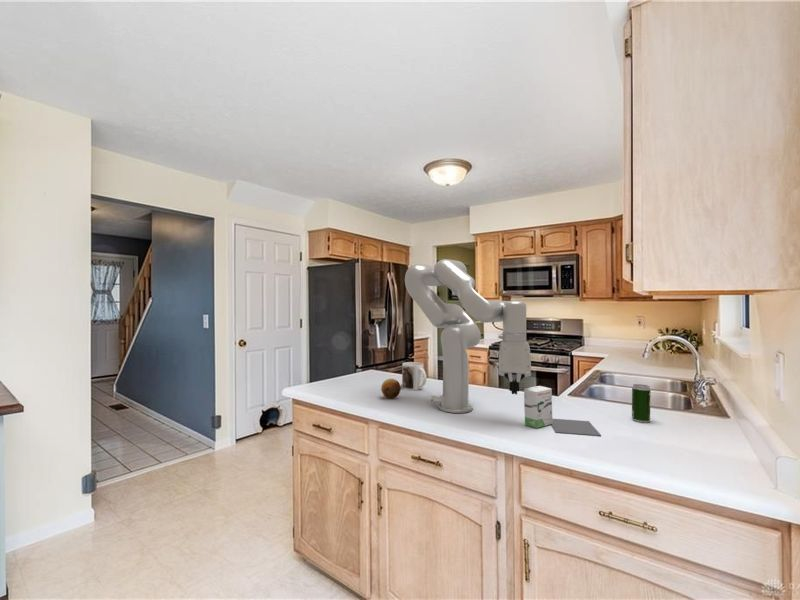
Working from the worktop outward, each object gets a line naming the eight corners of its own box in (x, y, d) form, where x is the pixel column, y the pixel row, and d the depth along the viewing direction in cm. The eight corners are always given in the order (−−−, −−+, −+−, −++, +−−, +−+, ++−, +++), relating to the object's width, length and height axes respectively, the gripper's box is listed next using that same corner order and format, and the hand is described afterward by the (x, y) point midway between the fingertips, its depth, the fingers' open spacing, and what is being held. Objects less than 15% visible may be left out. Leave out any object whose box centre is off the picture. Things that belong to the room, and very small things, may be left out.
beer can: (635, 422, 130) (635, 387, 130) (629, 417, 136) (629, 383, 136) (653, 423, 129) (653, 387, 129) (646, 418, 134) (646, 384, 134)
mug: (423, 385, 184) (423, 362, 184) (426, 391, 172) (427, 366, 172) (401, 385, 183) (401, 362, 183) (403, 391, 171) (403, 366, 171)
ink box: (536, 428, 123) (535, 391, 123) (523, 424, 127) (522, 388, 127) (553, 423, 127) (552, 387, 127) (540, 419, 131) (539, 385, 132)
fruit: (404, 398, 159) (404, 378, 159) (389, 401, 153) (390, 381, 153) (391, 394, 165) (391, 376, 165) (377, 398, 159) (377, 378, 159)
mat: (555, 432, 119) (555, 431, 119) (548, 419, 133) (548, 418, 133) (601, 436, 117) (601, 435, 117) (588, 422, 130) (588, 421, 130)
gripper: (491, 338, 127) (491, 394, 126) (539, 339, 123) (539, 397, 123) (491, 336, 134) (490, 389, 134) (536, 337, 131) (536, 392, 131)
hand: (514, 393), depth 129 cm, fingers closed
